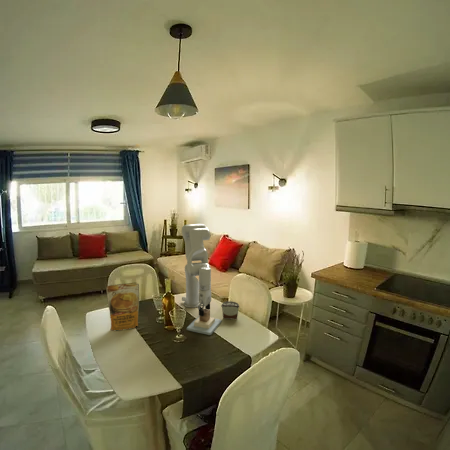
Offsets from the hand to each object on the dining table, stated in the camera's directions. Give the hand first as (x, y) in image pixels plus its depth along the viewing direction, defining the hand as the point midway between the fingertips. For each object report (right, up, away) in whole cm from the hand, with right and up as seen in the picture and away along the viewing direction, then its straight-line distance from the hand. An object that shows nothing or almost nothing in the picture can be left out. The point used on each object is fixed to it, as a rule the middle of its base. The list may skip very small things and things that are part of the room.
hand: (204, 312), depth 182 cm
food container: (+17, -7, +14) cm, 23 cm away
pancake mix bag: (-50, -9, -3) cm, 51 cm away
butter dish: (0, -9, +1) cm, 9 cm away
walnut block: (0, -5, 0) cm, 5 cm away
